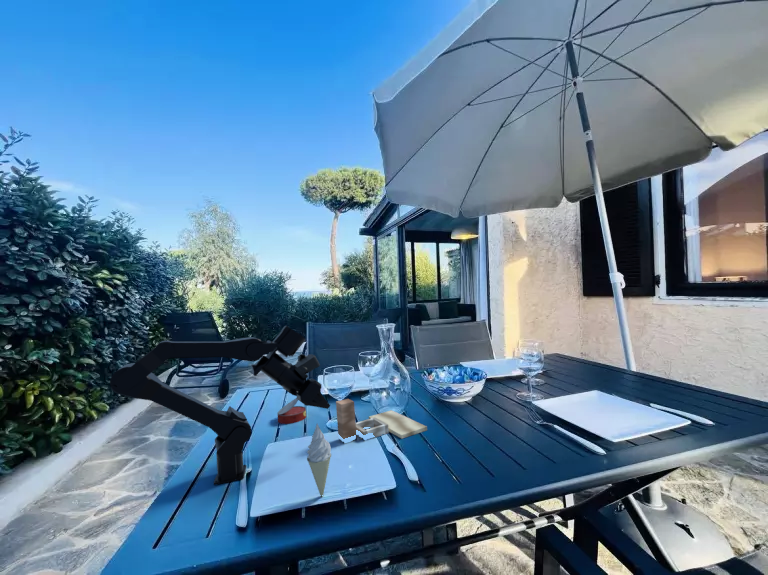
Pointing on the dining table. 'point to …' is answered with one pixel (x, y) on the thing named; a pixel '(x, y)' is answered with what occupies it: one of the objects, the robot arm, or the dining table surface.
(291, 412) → the canned food
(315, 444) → the ice cream cone
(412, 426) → the socket
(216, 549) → the dining table surface
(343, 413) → the peg
